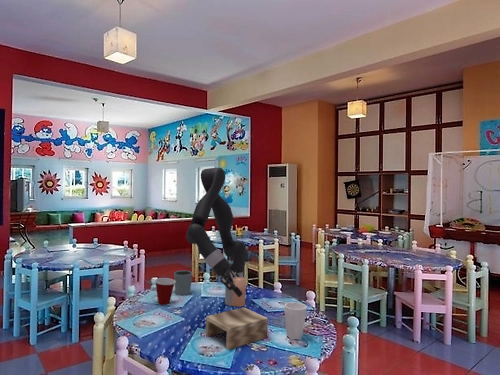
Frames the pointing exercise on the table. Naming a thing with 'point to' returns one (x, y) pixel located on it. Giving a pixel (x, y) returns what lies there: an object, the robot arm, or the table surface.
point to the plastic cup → (164, 290)
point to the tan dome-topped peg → (241, 285)
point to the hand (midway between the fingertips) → (243, 293)
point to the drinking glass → (182, 282)
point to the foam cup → (295, 319)
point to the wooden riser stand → (238, 326)
